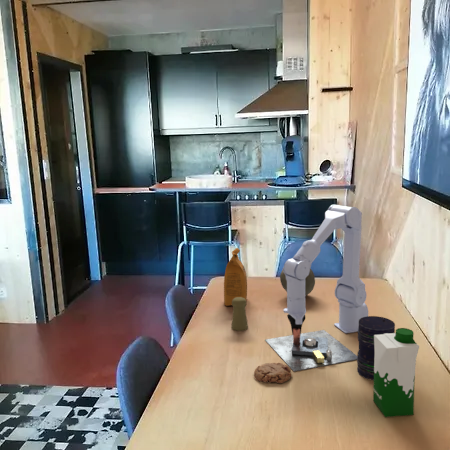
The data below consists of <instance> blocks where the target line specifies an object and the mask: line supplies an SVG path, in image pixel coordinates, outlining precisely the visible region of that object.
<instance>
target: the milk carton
mask: <svg viewBox="0 0 450 450" xmlns="http://www.w3.org/2000/svg"><path fill="white" fill-rule="evenodd" d="M414 335H415V333H414V331H413V330H412V329H409V328H405V327H400V328H399V327H398V328H396V329H395V333H389V334H388V333H385V334H380V335H374V348H375V358H374V381H373V390H372V391H373V395H372V396H373V397H372V398H373V399H372V401H373V402H374V404H375V405H376V407H377V408H378V409H379V411H380V412H381V413H382V415H383V417H385V418H391V417H401V416H402V417H403V416H404V417H405V416H413V415H414V413H415V412H414V407H415V404H414V403H415V383H416V382H415V379H416V364H417V363H416V362H417V356H418V353H419V349H420V345H419V344H418V343H417V342H416V341H415V339H414Z"/></svg>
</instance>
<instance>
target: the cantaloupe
mask: <svg viewBox="0 0 450 450" xmlns="http://www.w3.org/2000/svg"><path fill="white" fill-rule="evenodd" d="M279 280H280V283H281V284H280V285H281V287H282V288H283V289H284V291H286V293H287V280H286V276H285V274H284V272H283V269H282V270H281V273H280V275H279ZM315 284H316V277H315V273H314V271H313V270H312V268H311V267H310V272H309V275H308V276H307V277H306V278H305V297H306V296H308V295H309V294H311V293H312V292H313V290H314V288H315Z"/></svg>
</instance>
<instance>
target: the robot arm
mask: <svg viewBox="0 0 450 450" xmlns="http://www.w3.org/2000/svg"><path fill="white" fill-rule="evenodd" d="M362 215H363V213H362V210H360V209H359V208H358V207H356V206H349V205H348V206H346V205H339V204H336V203H335V204H331V205H330V206H329V207H328V208H327V210H326V211H325V212H324V220H323V221H322V223H321V224H320V225H319V227H318V229H317V230H316V231H315V233H314V235H313V236H312V238H311V239H309V240H305V241H303V243H302V244H301V246H300V248H299V249H298V250H297V252H296V253H295V254H294V255H293V257H292V258H289V259H287V260H286V261H285V263H284V264H283V267H282V270H283V272H284V274H285V276H286V280H287V292H286V307H285V308H283V313H284V314H287V315H286V316H287V317H286V318H287V319H288V321H289V324H290V327H291V333H292V334H291V335H293V328H296V327H297V328H300V335H301V334H302V329H303V328H302V327H303V325H304V322H305V320H306V313H307V309H306V296H305V278H306V277H307V276H308V275H309V272H310V268H311V267H312V263H313V262H314V261H315V259H316V258H317V257H318V256H319V255H320V253H321V246H322V244H323V243H324V242H326V240H327V239H328V238H329V237H330V236H331V235H332V234H333V232H334V231H335V230H342V231H343V232H344V237H343V238H344V239H343V241H344V242H343V256H342V257H343V259H342V276H341V277H339V278H338V279H336V286H335V288H334V296H335V298H336V300H337V302H338V308H339V311H338V315H339V316H338V322H335V323H334V324H333V325H334V327H336V328H338V329H339V330H340V331H342V332H343V333H344V334H350V333H356V332H357V333H358V326H359V319H361V318H363V317H367V316H369V308H368V306H367V304H366V303H365V302H366V300H367V291H366V283H364V281H363V280H362V279H361V278H360V265H361V264H360V263H361V262H360V260H361V246H362V245H361V244H362V243H361V242H362V229H363V228H362Z"/></svg>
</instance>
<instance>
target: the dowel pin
mask: <svg viewBox="0 0 450 450" xmlns="http://www.w3.org/2000/svg"><path fill="white" fill-rule="evenodd" d="M326 360H327V361H331V360H332V351H331V350H327V351H326Z"/></svg>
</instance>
